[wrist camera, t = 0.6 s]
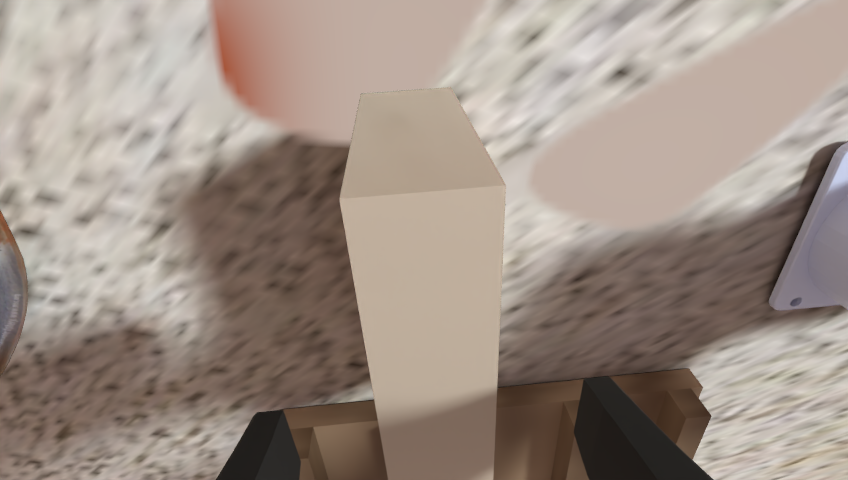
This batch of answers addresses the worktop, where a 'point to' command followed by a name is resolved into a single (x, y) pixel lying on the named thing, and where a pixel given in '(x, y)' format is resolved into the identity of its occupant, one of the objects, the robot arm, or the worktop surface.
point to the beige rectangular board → (427, 279)
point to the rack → (501, 428)
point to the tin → (11, 294)
